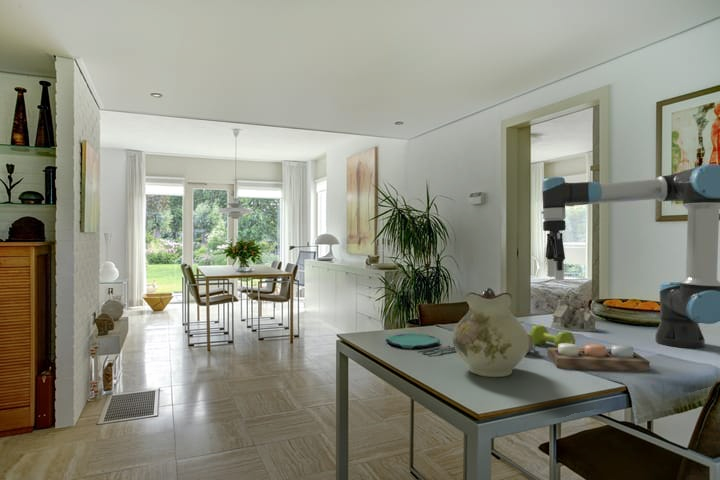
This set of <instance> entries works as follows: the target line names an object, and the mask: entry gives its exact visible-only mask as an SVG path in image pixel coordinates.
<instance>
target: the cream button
mask: <svg viewBox="0 0 720 480" xmlns="http://www.w3.org/2000/svg"><path fill="white" fill-rule="evenodd" d="M558 354H559V355H560V356H579V345H577V344H576V343H575V344H569V343H561V344H558Z"/></svg>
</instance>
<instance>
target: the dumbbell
mask: <svg viewBox="0 0 720 480" xmlns="http://www.w3.org/2000/svg"><path fill="white" fill-rule="evenodd" d="M528 335H530V336H531V337H532V340H533V345H534V346H535V345H536V346H540V345H546V343H551V344H554V346H555V348H558V344H561V343H569V344H575V345H576V339H575V336H574V335H573V333H572V331H568V330H561V331H559V332H558V333H557V334H553V333H549V332H548V329H547V328H546V326H544V325H540V324H538V325H533V326H532V327H531V329H530V330H529V333H528Z"/></svg>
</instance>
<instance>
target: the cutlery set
mask: <svg viewBox="0 0 720 480" xmlns="http://www.w3.org/2000/svg"><path fill="white" fill-rule="evenodd" d="M385 342H386V343H390V345H394V346H397V347H402V348H403V349H413V348H426V347H427V349H420V350H417V353H421V354H423V355H425V354H426V355H427V357H429V358H432V357H439V356H443V355H446V354H447V355H448V354H454V353H457V352H456V350H455V347H454V345H453V346H450V345H447V346H440V347H437V346H436V347H432V348H429V347H431V346H434V345H436V344H438V345H440V343H441V340H440V338H437V337H435V336H432V335H428V334H425V333H415V332H413V333H411V332H410V333H403V334H395V335H390V336H388V337H387V338H386V339H385Z"/></svg>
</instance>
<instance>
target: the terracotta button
mask: <svg viewBox="0 0 720 480" xmlns="http://www.w3.org/2000/svg"><path fill="white" fill-rule="evenodd" d="M583 346H584V349H585V356H589V357H606V345H603V344H598V343H596V344H595V343H587V344H584V345H583Z"/></svg>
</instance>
